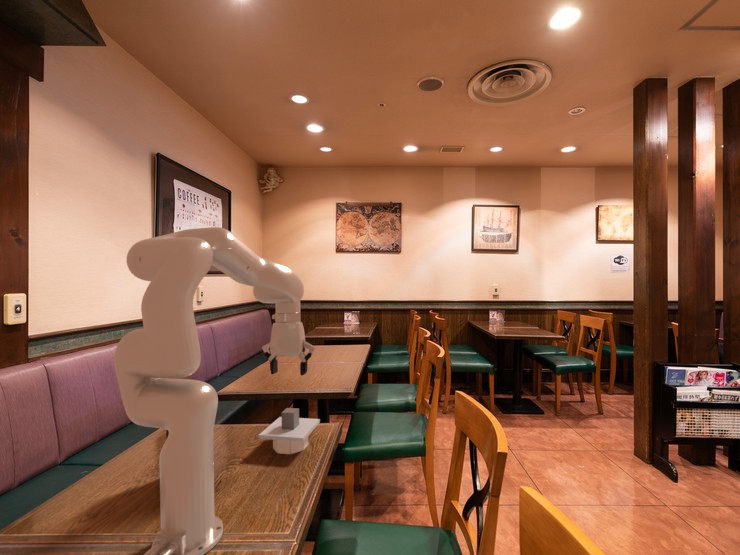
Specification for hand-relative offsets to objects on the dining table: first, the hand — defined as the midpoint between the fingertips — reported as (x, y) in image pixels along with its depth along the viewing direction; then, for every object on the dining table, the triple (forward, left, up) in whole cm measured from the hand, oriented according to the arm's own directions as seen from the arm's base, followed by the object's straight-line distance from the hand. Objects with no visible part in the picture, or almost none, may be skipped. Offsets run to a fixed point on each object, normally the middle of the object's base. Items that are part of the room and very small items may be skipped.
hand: (288, 373), depth 109 cm
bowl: (0, 0, -22) cm, 22 cm away
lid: (0, 0, -17) cm, 17 cm away
